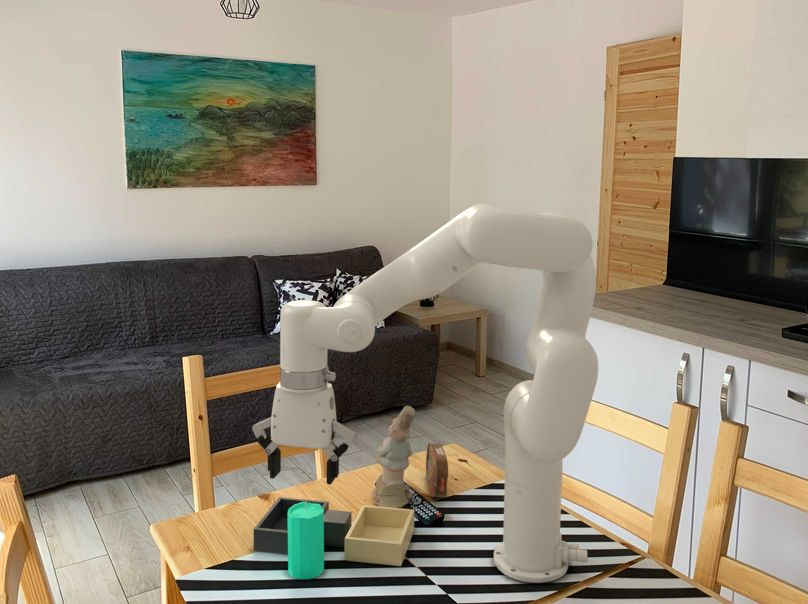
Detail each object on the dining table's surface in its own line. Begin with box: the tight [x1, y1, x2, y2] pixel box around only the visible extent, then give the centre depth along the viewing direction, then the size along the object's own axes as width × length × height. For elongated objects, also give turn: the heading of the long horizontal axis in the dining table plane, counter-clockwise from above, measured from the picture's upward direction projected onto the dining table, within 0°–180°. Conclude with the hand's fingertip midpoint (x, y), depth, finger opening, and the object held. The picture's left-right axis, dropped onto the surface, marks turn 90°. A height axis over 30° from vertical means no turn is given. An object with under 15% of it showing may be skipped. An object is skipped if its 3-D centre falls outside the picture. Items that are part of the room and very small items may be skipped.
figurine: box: [371, 405, 416, 508], centre depth 143 cm, size 9×8×20 cm
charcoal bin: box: [253, 496, 330, 555], centre depth 130 cm, size 10×12×4 cm
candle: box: [287, 501, 325, 580], centre depth 119 cm, size 6×6×12 cm
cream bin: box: [344, 504, 415, 567], centre depth 127 cm, size 10×12×4 cm
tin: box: [425, 442, 449, 498], centre depth 149 cm, size 15×3×8 cm, turn 6°
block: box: [324, 509, 353, 549], centre depth 128 cm, size 4×4×4 cm
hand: (303, 478), depth 117 cm, fingers open, 9 cm apart
